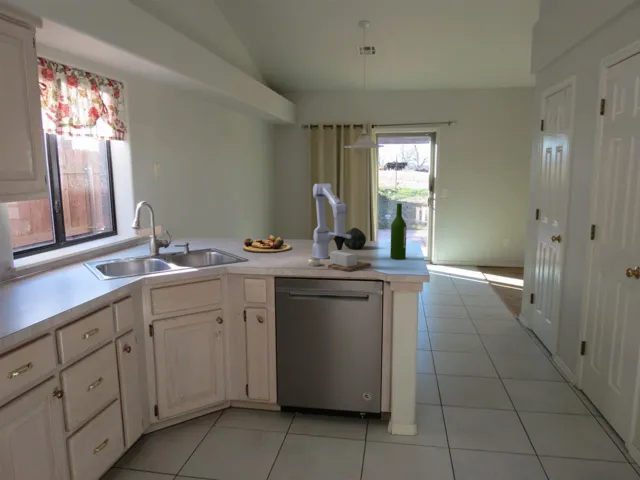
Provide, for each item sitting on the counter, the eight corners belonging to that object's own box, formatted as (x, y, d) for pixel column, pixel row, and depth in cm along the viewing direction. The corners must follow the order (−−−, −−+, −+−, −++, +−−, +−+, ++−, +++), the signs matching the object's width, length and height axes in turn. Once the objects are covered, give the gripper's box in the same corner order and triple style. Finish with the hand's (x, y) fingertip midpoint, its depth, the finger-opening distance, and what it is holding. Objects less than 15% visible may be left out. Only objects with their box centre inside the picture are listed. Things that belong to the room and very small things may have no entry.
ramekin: (305, 265, 251) (305, 258, 251) (313, 263, 256) (313, 257, 256) (314, 266, 247) (314, 260, 247) (322, 264, 252) (322, 258, 251)
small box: (329, 262, 249) (346, 267, 240) (330, 251, 248) (347, 255, 239) (340, 261, 255) (357, 265, 245) (340, 249, 254) (357, 253, 244)
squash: (356, 237, 314) (347, 222, 306) (373, 240, 304) (363, 225, 295) (345, 252, 309) (335, 238, 300) (361, 256, 298) (352, 241, 290)
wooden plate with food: (234, 252, 292) (233, 239, 290) (255, 243, 322) (255, 232, 320) (280, 256, 282) (280, 243, 281) (298, 247, 312) (298, 235, 311)
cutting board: (328, 268, 244) (328, 265, 244) (350, 262, 259) (350, 259, 258) (348, 271, 235) (348, 269, 235) (370, 265, 250) (370, 262, 249)
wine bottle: (405, 260, 264) (407, 204, 259) (390, 259, 266) (391, 204, 261) (405, 257, 273) (407, 203, 267) (390, 256, 274) (391, 202, 269)
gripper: (324, 225, 249) (324, 249, 252) (345, 227, 240) (345, 252, 242) (333, 224, 255) (332, 247, 257) (353, 226, 245) (353, 250, 248)
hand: (339, 250), depth 250 cm, fingers closed
